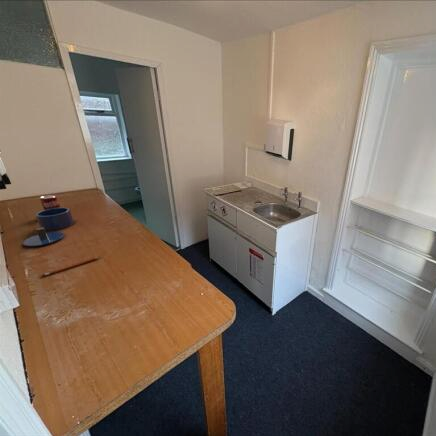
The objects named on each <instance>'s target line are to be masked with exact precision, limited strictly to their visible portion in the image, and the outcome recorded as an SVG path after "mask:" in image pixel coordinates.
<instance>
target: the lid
mask: <svg viewBox="0 0 436 436" xmlns="http://www.w3.org/2000/svg"><path fill="white" fill-rule="evenodd" d="M35 231H36V235H33V236H31V237H28V238H27V239H25V240H24V241H23V242H22V244H23V246H25V247H30V248H31V247H33V248H34V247H40V246H45V245H46V246H47V245H49V244H53V243H55V242H57V241H60V240H61V239H63V238H64V236H65V234H64V233H63V232H61V231H48V232H46V230H45V229H44V228H43V227H37V228H35Z"/></svg>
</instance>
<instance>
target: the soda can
mask: <svg viewBox="0 0 436 436" xmlns="http://www.w3.org/2000/svg"><path fill="white" fill-rule="evenodd" d="M39 202H40V203H41V205H42V208H43V211H44V210H47V209H52V208H61V206H60V205H61V204H60V202H59V200H58V197H57V196H56V195H53V194H49V195H43V196H40V197H39Z"/></svg>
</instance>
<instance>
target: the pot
mask: <svg viewBox="0 0 436 436" xmlns="http://www.w3.org/2000/svg"><path fill="white" fill-rule="evenodd" d="M35 217H36V219H37V222H38V224H39V228H41V227H43V228H44V229H45V231H48V232H52V231H58V230H62V229H66V228H69V227H71V226H72V225H74V223H75V221H74V218H73V215H72V212H71V209H70V208H68V207H60V208H52V209H47V210H44V209H43V210H41V211H38V212H36V213H35Z"/></svg>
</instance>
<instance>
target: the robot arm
mask: <svg viewBox="0 0 436 436" xmlns="http://www.w3.org/2000/svg"><path fill="white" fill-rule="evenodd" d="M0 154H2V151H1V150H0ZM8 185H12V182H11V180H10V177H9V175H8V173H7V169H6V166H5V163H4V162H3V160H2V158H1V156H0V190H7V186H8Z"/></svg>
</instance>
